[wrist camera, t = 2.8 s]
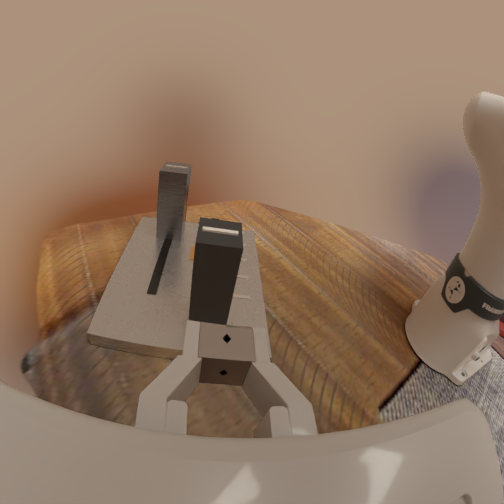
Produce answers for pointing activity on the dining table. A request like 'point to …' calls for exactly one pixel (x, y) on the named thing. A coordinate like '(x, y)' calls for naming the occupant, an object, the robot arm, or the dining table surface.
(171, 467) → the robot arm
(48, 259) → the dining table surface
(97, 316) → the console
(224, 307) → the fader knob
